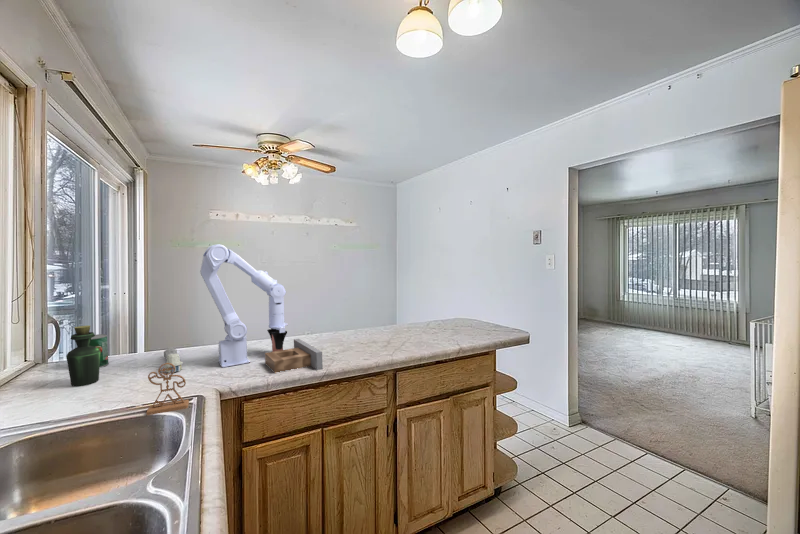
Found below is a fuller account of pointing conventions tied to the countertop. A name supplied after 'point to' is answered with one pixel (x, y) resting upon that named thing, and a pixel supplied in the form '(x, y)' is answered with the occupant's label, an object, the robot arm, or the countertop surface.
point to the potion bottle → (83, 358)
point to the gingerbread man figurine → (167, 406)
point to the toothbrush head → (172, 359)
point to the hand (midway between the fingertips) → (277, 347)
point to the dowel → (274, 345)
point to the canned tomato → (101, 347)
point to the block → (287, 359)
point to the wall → (315, 353)
